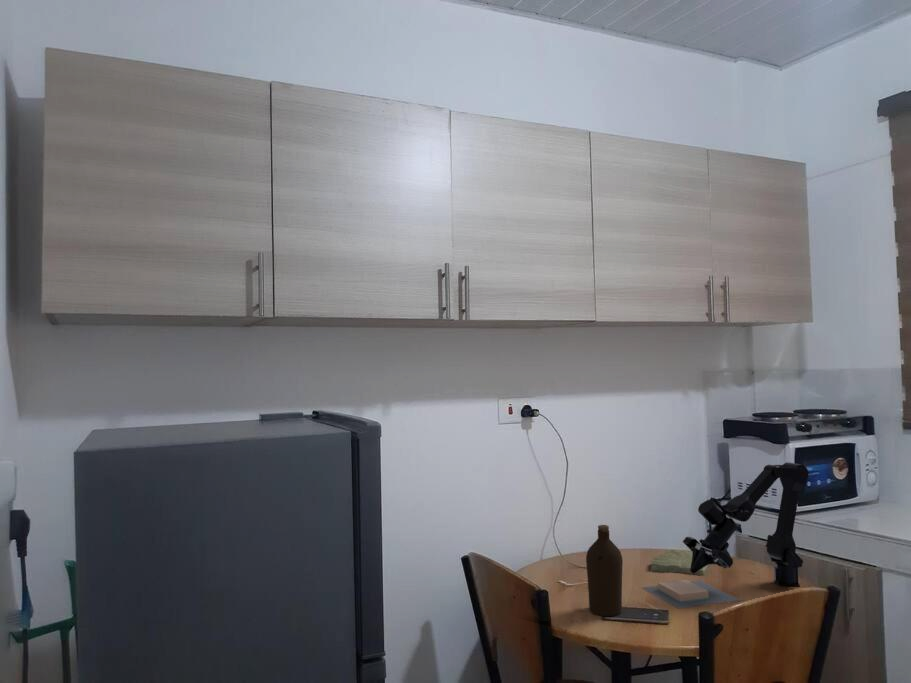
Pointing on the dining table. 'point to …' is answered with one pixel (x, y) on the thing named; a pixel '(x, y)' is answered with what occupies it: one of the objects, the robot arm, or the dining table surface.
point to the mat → (713, 594)
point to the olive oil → (604, 575)
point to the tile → (683, 590)
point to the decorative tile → (675, 562)
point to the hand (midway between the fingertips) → (691, 572)
